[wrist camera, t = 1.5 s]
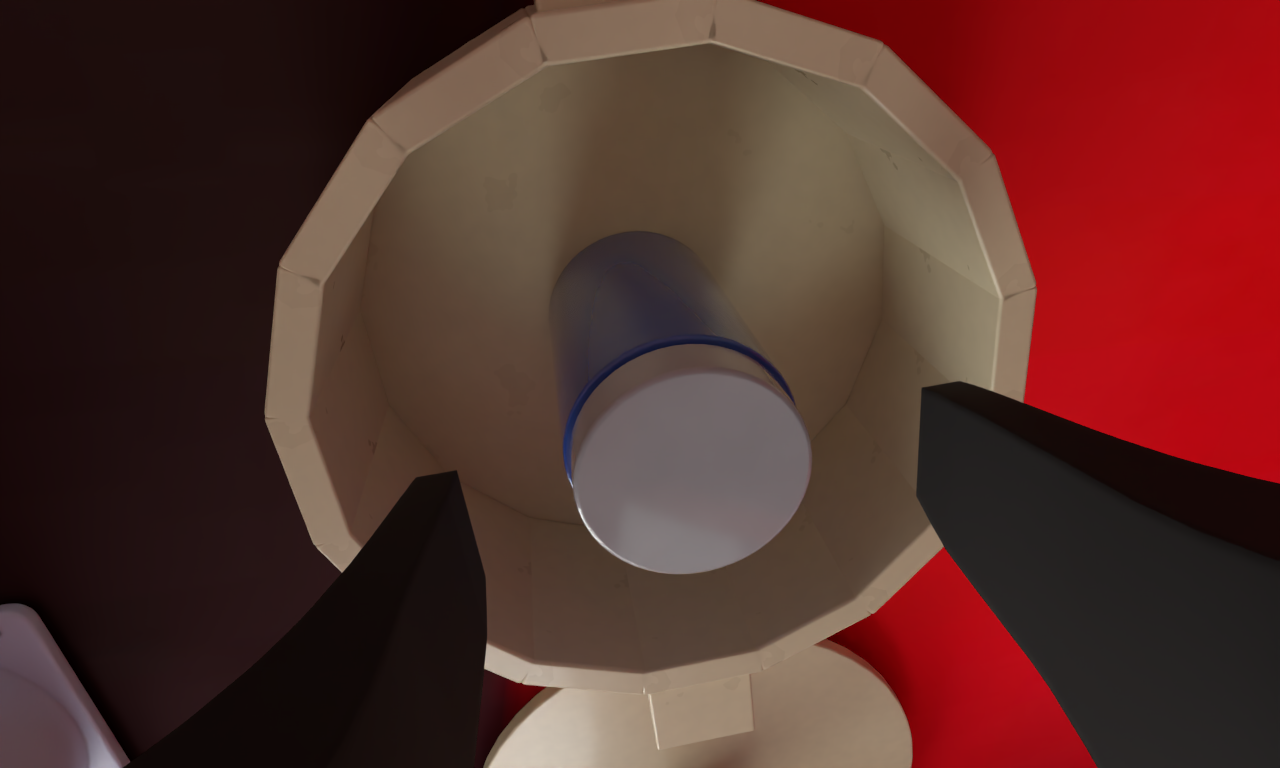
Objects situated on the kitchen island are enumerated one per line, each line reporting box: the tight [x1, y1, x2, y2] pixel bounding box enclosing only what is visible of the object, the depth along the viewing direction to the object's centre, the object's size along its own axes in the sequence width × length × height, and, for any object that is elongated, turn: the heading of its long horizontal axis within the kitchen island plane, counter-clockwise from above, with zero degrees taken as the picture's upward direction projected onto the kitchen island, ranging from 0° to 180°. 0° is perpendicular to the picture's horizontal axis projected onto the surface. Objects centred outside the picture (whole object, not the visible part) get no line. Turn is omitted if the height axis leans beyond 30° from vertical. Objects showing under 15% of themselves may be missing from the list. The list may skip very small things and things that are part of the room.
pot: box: [264, 0, 1037, 750], centre depth 16 cm, size 13×19×6 cm
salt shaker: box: [548, 231, 812, 574], centre depth 15 cm, size 4×4×7 cm
